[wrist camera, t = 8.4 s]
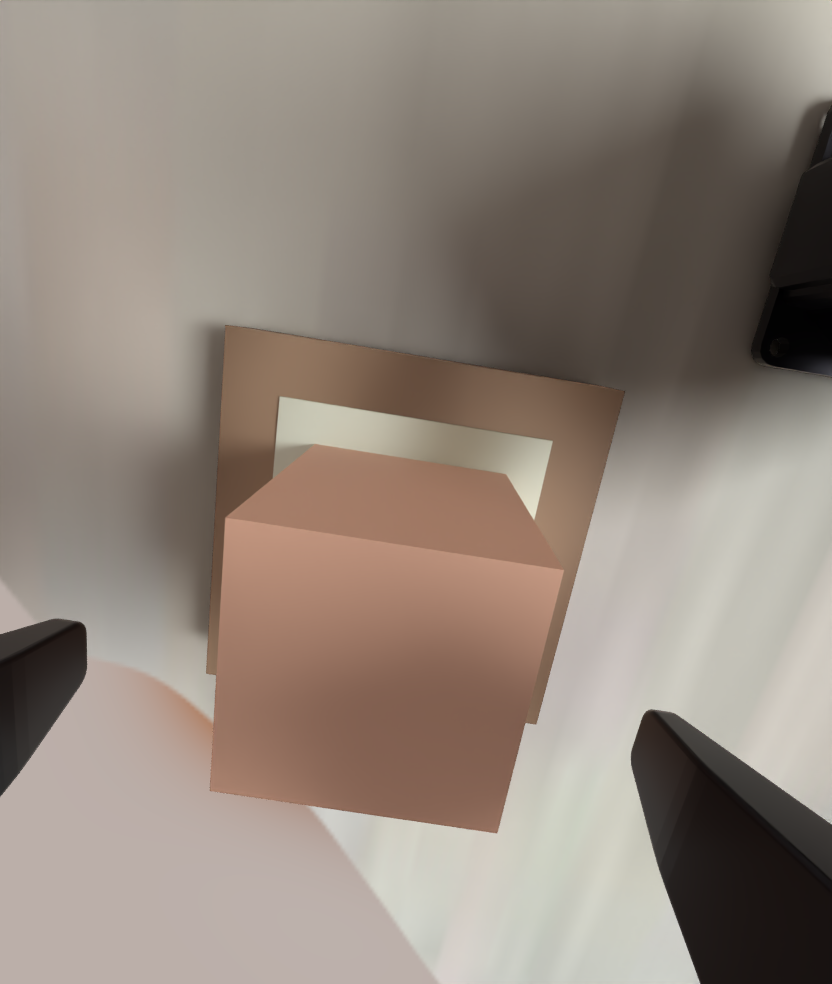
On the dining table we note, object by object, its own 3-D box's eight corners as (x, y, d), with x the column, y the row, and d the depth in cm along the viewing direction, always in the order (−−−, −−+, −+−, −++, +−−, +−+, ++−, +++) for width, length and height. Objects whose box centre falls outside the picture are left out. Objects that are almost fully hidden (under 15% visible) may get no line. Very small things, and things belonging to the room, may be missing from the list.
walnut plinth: (599, 385, 15) (626, 391, 13) (524, 682, 17) (537, 726, 15) (252, 328, 15) (223, 324, 12) (231, 636, 17) (204, 675, 15)
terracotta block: (505, 474, 13) (564, 569, 8) (471, 642, 15) (497, 833, 9) (315, 443, 13) (225, 517, 7) (297, 615, 15) (209, 790, 9)
